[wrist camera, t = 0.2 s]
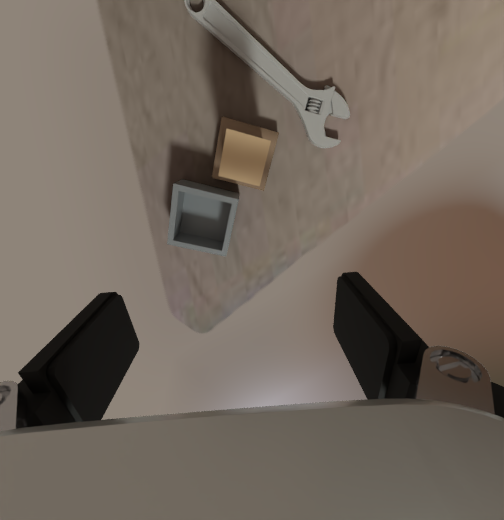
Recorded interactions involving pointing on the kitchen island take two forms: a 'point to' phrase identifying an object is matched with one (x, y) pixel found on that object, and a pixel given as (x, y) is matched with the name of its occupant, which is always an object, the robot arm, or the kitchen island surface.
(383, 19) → the kitchen island surface
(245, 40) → the adjustable wrench
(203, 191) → the bin
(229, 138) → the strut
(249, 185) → the stud plate
